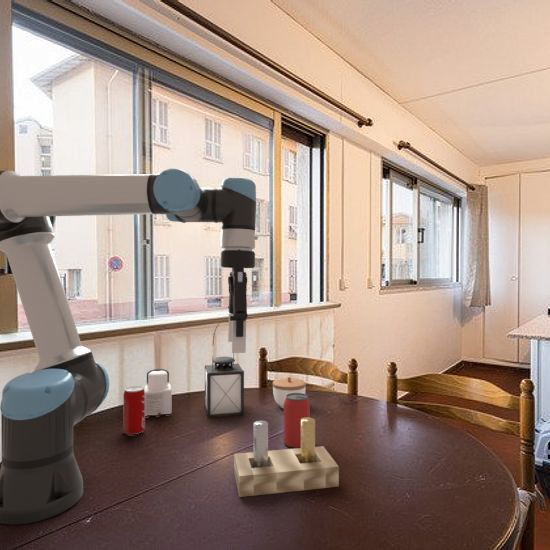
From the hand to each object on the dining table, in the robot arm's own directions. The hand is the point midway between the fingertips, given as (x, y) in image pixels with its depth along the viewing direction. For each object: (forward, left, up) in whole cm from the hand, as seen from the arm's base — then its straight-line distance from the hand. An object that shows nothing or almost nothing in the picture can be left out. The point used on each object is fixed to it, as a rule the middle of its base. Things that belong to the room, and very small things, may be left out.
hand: (236, 346), depth 91 cm
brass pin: (+14, -7, -27) cm, 31 cm away
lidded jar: (+21, +39, -27) cm, 52 cm away
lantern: (0, +39, -27) cm, 47 cm away
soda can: (-25, +26, -27) cm, 45 cm away
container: (-20, +41, -27) cm, 53 cm away
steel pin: (+4, -7, -27) cm, 28 cm away
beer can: (+16, +10, -27) cm, 33 cm away
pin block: (+9, -7, -27) cm, 29 cm away
